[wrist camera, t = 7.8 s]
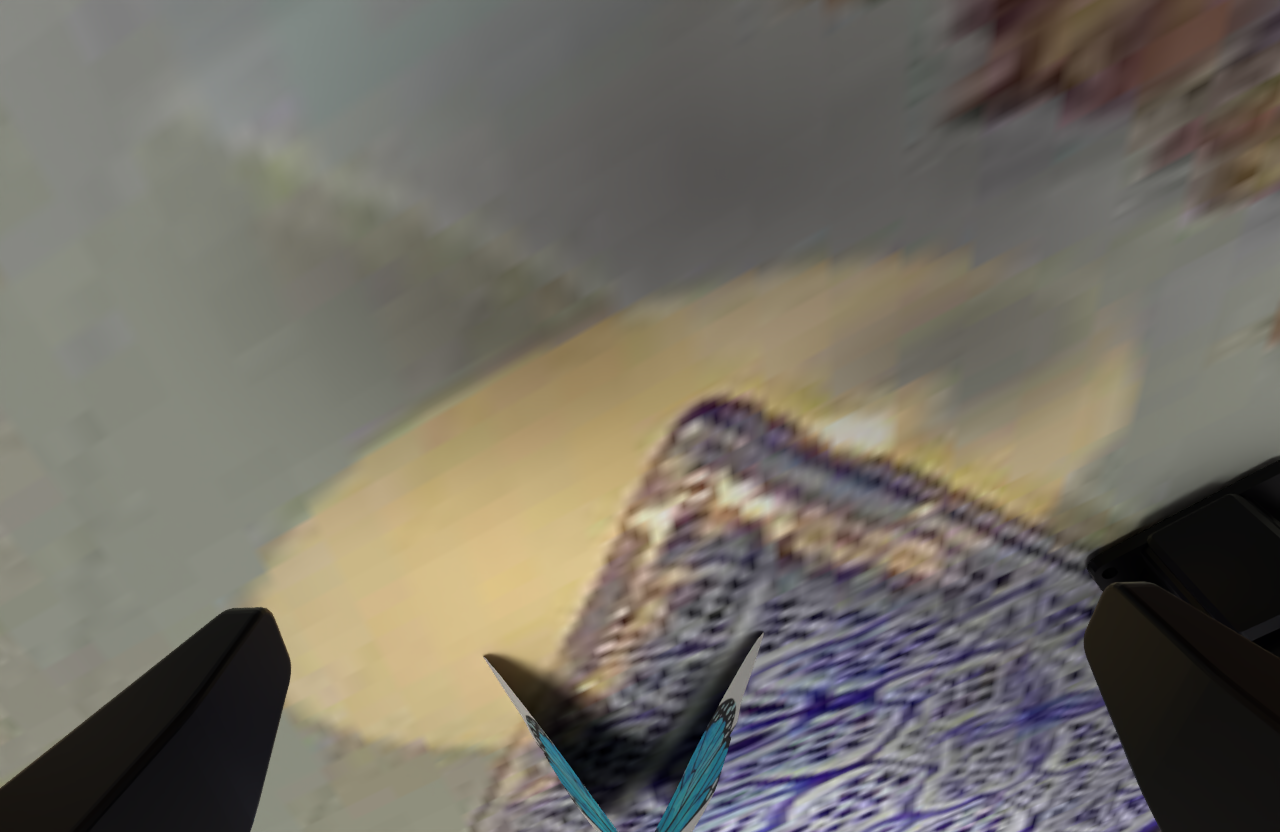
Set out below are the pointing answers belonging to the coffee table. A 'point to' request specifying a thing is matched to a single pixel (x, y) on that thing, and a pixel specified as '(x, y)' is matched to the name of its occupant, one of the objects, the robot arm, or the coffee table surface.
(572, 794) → the decorative butterfly
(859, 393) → the coffee table surface
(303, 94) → the coffee table surface
